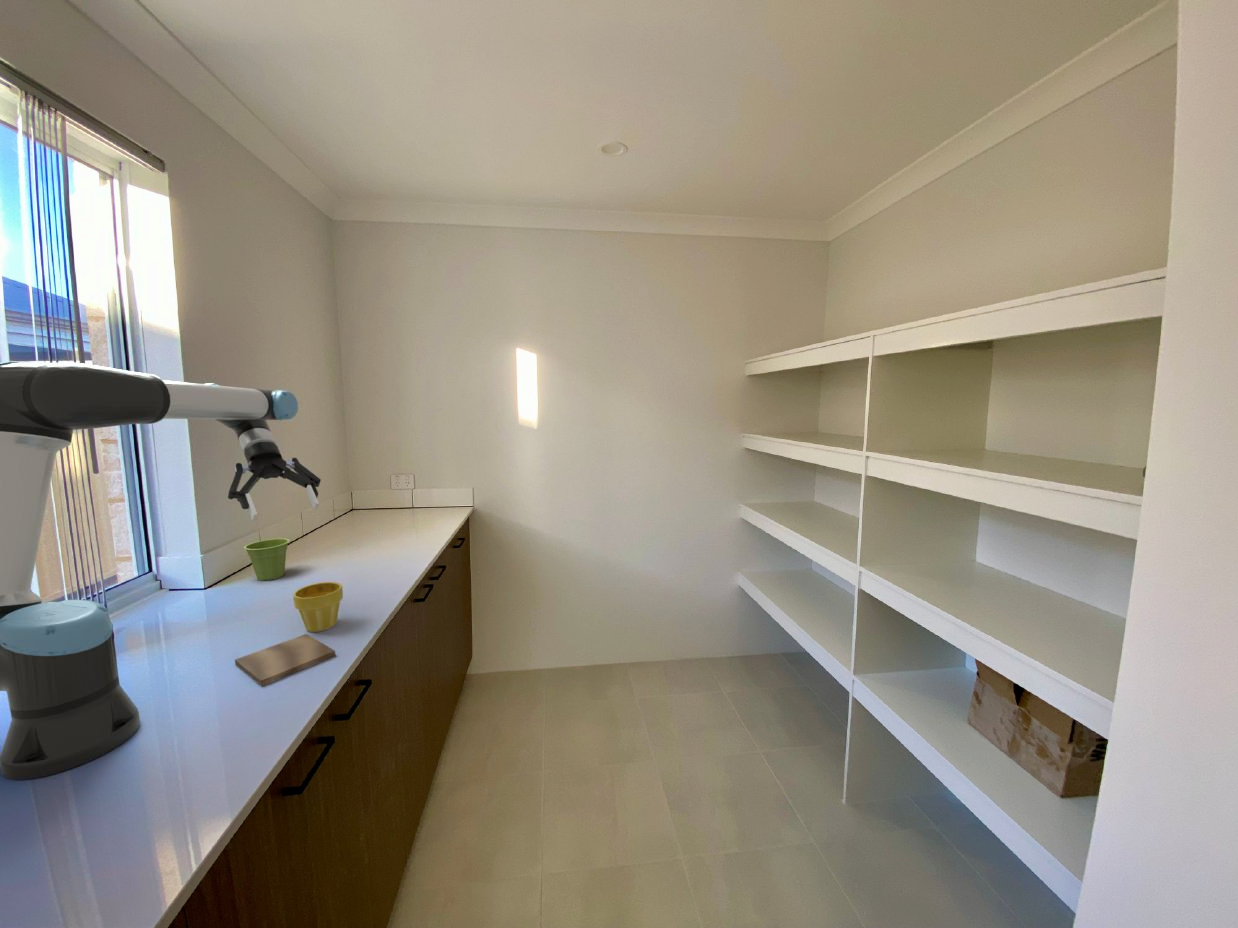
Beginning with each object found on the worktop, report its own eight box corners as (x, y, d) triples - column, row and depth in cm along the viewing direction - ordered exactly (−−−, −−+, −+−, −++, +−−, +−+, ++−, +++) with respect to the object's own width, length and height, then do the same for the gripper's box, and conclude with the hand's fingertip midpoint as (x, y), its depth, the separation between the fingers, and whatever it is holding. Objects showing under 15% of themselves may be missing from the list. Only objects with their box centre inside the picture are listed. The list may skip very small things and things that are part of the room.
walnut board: (261, 686, 95) (260, 680, 95) (235, 664, 103) (234, 659, 103) (335, 655, 107) (335, 650, 107) (306, 638, 115) (306, 633, 114)
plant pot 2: (322, 637, 115) (319, 599, 114) (286, 633, 117) (282, 595, 116) (354, 618, 125) (351, 582, 124) (320, 615, 127) (317, 580, 126)
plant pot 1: (269, 569, 162) (266, 537, 161) (301, 571, 160) (298, 538, 159) (237, 582, 150) (233, 548, 149) (271, 584, 149) (267, 549, 147)
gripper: (309, 453, 141) (336, 510, 134) (199, 463, 121) (224, 531, 115) (315, 436, 137) (342, 494, 130) (202, 444, 117) (227, 513, 111)
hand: (287, 512), depth 122 cm, fingers open, 13 cm apart
